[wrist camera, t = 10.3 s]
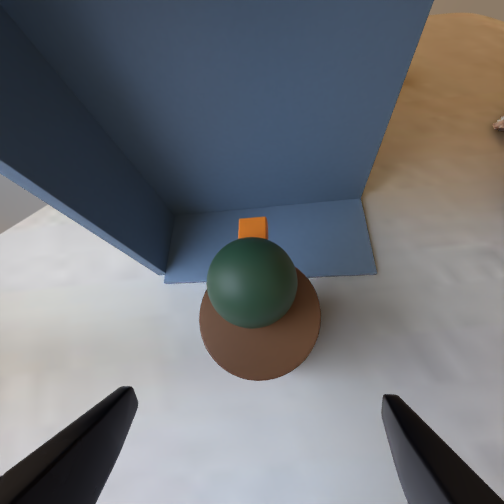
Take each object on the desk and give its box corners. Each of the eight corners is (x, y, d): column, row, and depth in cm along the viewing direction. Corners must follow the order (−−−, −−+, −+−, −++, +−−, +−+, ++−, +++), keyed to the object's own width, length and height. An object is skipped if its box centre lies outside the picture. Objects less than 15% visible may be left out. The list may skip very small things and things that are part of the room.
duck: (314, 374, 19) (341, 391, 7) (239, 372, 20) (148, 384, 8) (307, 284, 22) (317, 186, 10) (242, 287, 23) (179, 200, 11)
